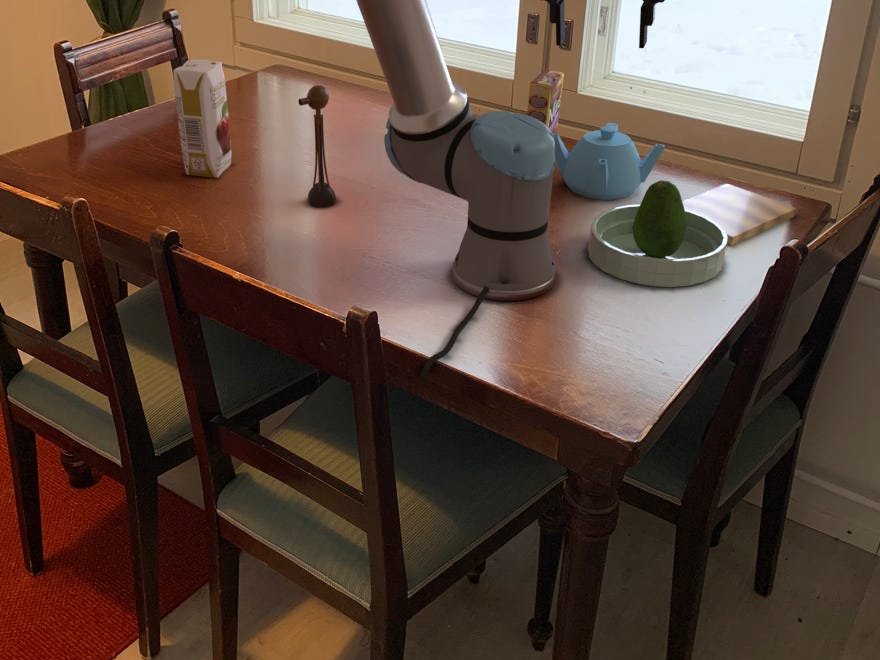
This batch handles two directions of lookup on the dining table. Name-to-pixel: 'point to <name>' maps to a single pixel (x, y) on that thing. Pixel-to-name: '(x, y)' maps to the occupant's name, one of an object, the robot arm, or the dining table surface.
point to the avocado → (660, 220)
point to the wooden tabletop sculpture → (319, 150)
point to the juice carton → (203, 117)
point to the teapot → (604, 164)
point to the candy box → (546, 98)
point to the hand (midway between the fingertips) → (601, 43)
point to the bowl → (628, 262)
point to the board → (739, 211)
